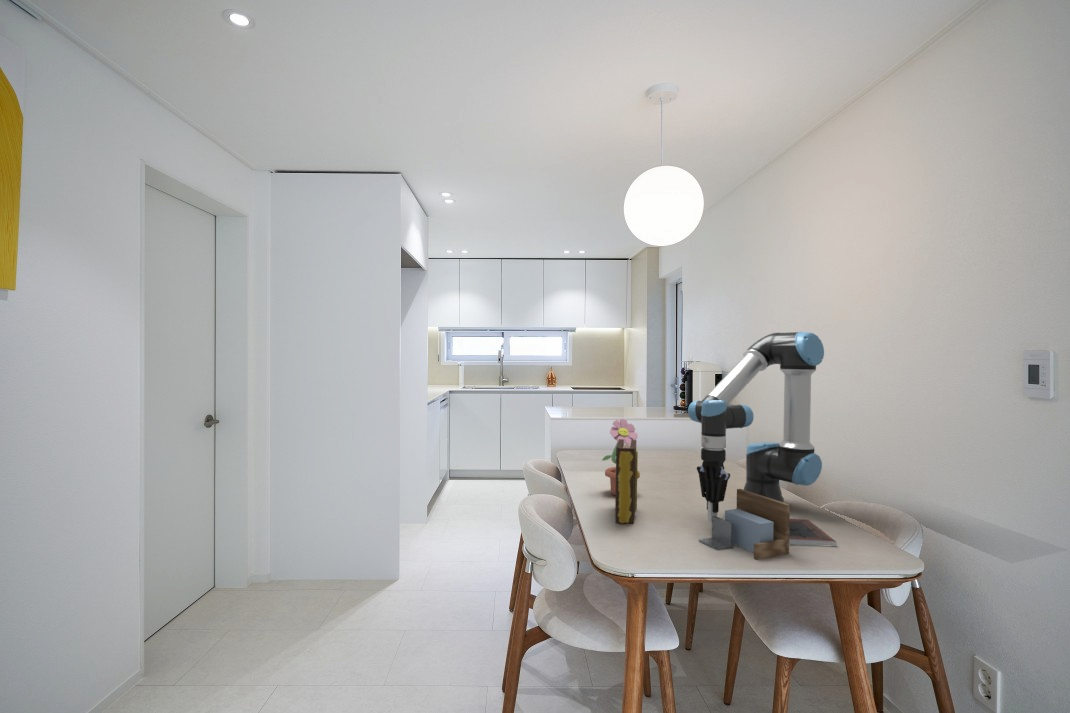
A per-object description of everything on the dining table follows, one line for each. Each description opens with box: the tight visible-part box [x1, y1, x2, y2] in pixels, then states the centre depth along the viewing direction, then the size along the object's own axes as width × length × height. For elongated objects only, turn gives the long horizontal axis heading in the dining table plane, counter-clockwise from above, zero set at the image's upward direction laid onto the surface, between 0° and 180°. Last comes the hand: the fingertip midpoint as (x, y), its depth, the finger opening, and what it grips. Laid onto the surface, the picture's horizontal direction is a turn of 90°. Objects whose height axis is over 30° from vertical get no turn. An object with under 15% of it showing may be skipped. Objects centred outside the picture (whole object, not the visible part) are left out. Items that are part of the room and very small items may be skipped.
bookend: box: [698, 516, 734, 551], centre depth 162 cm, size 6×8×7 cm
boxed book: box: [724, 508, 774, 554], centre depth 162 cm, size 5×14×9 cm, turn 23°
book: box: [614, 439, 640, 525], centre depth 191 cm, size 22×8×25 cm, turn 168°
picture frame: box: [789, 518, 837, 547], centre depth 174 cm, size 16×2×22 cm
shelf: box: [736, 488, 791, 560], centre depth 162 cm, size 12×19×14 cm, turn 23°
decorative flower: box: [601, 418, 641, 496], centre depth 218 cm, size 15×14×30 cm
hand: (712, 521), depth 176 cm, fingers closed
